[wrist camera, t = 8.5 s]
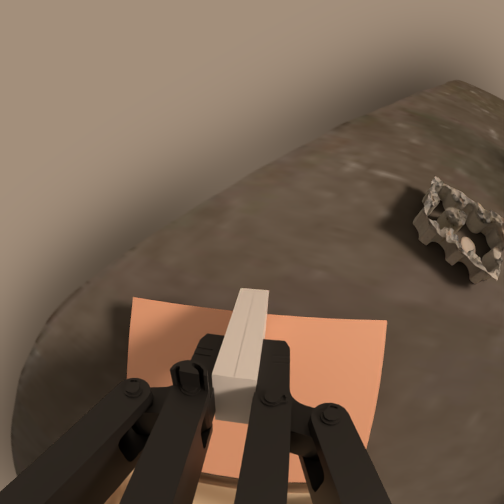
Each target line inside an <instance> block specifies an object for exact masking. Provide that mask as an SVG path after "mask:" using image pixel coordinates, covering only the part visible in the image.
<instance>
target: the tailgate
mask: <svg viewBox="0 0 504 504" xmlns="http://www.w3.org/2000/svg"><path fill="white" fill-rule="evenodd" d="M232 313H233V311H229V310H221V309H212V308H204V307H196V306H188V305H181V304H174V303H167V302H161V301H154V300H148V299H142V298H136V297H133V304H132V313H131V323H130V334H129V347H128V363H127V379H129V378H140V379H143V380H145V381H146V382H147V383H148V384H149V386H150V387H167V386H171V385H173V383H172V378H171V373H170V368H171V367H172V366H173V365H174V364H175V363H177V362H179V361H184V360H191V358H192V356H193V355H194V351H195V349H196V348H197V345H198V343H199V340H200V339H201V338H202V337H204V336H205V335H206V334H207V333H209V334H216V335H224V336H225V334H226V331H227V328H228V325H229V322H230V319H231V316H232ZM386 326H387V320H352V319H329V318H311V317H296V316H282V315H270V314H267V320H266V332H265V339H269V340H281V341H286V343H287V344H288V346H289V347H290V393H291V395H292V397H293V398H294V399H295V400H296V401H298V402H299V403H301V404H304V405H306V406H310V407H313V408H315V407H316V406H318V405H320V404H323V403H335V404H339V405H340V406H342V407H344V408H345V409H346V410H347V412H348V413H349V415H350V417H351V419H352V421H353V423H354V425H355V428H356V430H357V432H358V434H359V436H360V438H361V440H362V442H363V444H364V446H365V448H366V447H367V444H368V440H369V435H370V431H371V427H372V422H373V418H374V413H375V408H376V402H377V397H378V391H379V385H380V379H381V372H382V364H383V356H384V347H385V337H386ZM212 424H213V431H212V435H211V439H210V442H209V446H208V450H207V453H206V457H205V460H204V464H203V468H202V471H201V472H205V473H210V474H216V475H221V476H228V477H235V478H239V474H240V468H241V463H242V457H243V451H244V446H245V440H246V434H247V428H248V424H244V423H236V422H229V421H222V420H216V419H215V415H214V418H213V422H212ZM288 482H306V480H305V477H304V473H303V470H302V466H301V463H300V460H299V456H298V455H296V454H292V453H290V457H289V477H288Z"/></svg>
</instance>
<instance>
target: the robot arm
mask: <svg viewBox="0 0 504 504" xmlns="http://www.w3.org/2000/svg"><path fill="white" fill-rule="evenodd" d="M268 295H269V290H257V289H246V288H241V289H240V292H239V295H238V298H237V301H236V304H235V307H234V310H233V313H232V316H231V319H230V322H229V325H228V328H227V331H226V334H225V336H224V335H216V334H209V333H207V334H206V335H205V336H204V337H202V338H201V339H200V340H199V343H198V345H197V348H196V349H195V351H194V355H193V356H192V358H191V360H184V361H179V362H177V363H175V364H174V365H173V366H172V367H171V368H170V373H171V378H172V383H173V385H171V386H167V387H150V386H149V384H148V383H147V382H146V381H145V380H143V379H140V378H129V379H125V380H124V381H122V382H121V383H119V384H118V385H117V386H116V387H115V388H114V389H113V390H112V391H111V392H110V393H108V394H107V395H106V396H105V397H104V398H103V399H102V400H101V401H100V402H99V403H98V404H96V405H95V406H94V407H93V408H92V409H91V410H90V411H89V412H88V413H87V414H86V415H84V416H83V417H82V418H81V419H80V420H79V421H78V422H77V423H76V424H75V425H74V426H72V427H71V428H70V429H69V430H68V431H67V432H66V433H65V434H64V435H63V436H61V437H60V438H59V439H58V440H57V441H56V442H55V443H54V444H53V445H52V446H50V447H49V448H48V449H47V450H46V451H45V452H44V453H43V454H42V455H41V456H39V457H38V458H37V459H36V460H35V461H34V462H33V463H32V464H31V465H29V466H28V467H27V468H26V469H25V470H24V471H23V472H22V473H21V474H19V475H18V476H17V477H16V478H15V479H14V480H13V481H12V482H11V483H9V484H8V485H7V486H6V487H5V488H4V489H3V490H2V491H1V492H0V504H104V503H105V502H106V501H107V500H108V499H109V498H110V496H111V495H112V494H113V493H114V492H115V491H116V490H117V488H118V487H119V486H120V485H121V484H122V483H123V481H124V480H125V479H126V478H127V477H128V476H129V474H130V473H131V472H132V471H133V470H134V471H133V473H132V476H131V478H130V480H129V482H128V485H127V487H126V489H125V491H124V494H123V496H122V498H121V501H120V503H119V504H192V503H193V500H194V496H195V493H196V489H197V486H198V482H199V478H200V475H201V471H202V468H203V464H204V460H205V457H206V453H207V450H208V446H209V442H210V439H211V435H212V431H213V424H212V422H213V418H214V415H215V419H216V420H222V421H229V422H236V423H244V424H248V428H247V434H246V440H245V446H244V451H243V457H242V463H241V468H240V474H239V479H238V484H237V490H236V495H235V500H234V504H287V493H288V477H289V457H290V453H292V454H296V455H298V456H299V460H300V463H301V466H302V470H303V473H304V477H305V480H306V483H307V487H308V490H309V494H310V497H311V500H312V504H391V502H390V499H389V497H388V495H387V493H386V491H385V489H384V487H383V484H382V482H381V480H380V478H379V476H378V474H377V472H376V469H375V467H374V465H373V463H372V461H371V459H370V457H369V455H368V453H367V450H366V448H365V446H364V444H363V442H362V440H361V438H360V436H359V434H358V432H357V430H356V428H355V425H354V423H353V421H352V419H351V417H350V415H349V413H348V412H347V410H346V409H345V408H344V407H342V406H340V405H339V404H335V403H323V404H320V405H318V406H316V407H315V408H313V407H310V406H306V405H304V404H301V403H299V402H298V401H296V400H295V399H294V398H293V397H292V395H291V393H290V347H289V346H288V344H287V343H286V341H281V340H269V339H265V332H266V320H267V308H268ZM134 468H135V469H134Z"/></svg>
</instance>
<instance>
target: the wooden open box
mask: <svg viewBox="0 0 504 504" xmlns="http://www.w3.org/2000/svg"><path fill="white" fill-rule="evenodd" d="M134 469H135V468H134ZM133 471H134V470H133ZM133 471H132V472H131V473H130V474H129V476H128V477H127V478H126V479H125V480H124V481H123V483H122V484H121V485H120V486H119V487H118V488H117V490H116V491H115V492H114V493H113V494H112V495H111V496H110V498H109V499H108V500H107V501H106V502H105V503H104V504H119V503H120V501H121V498H122V496H123V494H124V491H125V489H126V487H127V485H128V482H129V480H130V478H131V476H132V473H133ZM237 484H238V479H234V478H227V477H221V476H215V475H209V474H204V473H201V475H200V478H199V482H198V486H197V489H196V493H195V496H194V500H193V503H192V504H234V500H235V495H236V490H237ZM287 504H312V500H311V497H310V494H309V490H308V487H307V483H288V493H287Z"/></svg>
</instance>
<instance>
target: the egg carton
mask: <svg viewBox="0 0 504 504" xmlns="http://www.w3.org/2000/svg"><path fill="white" fill-rule="evenodd" d="M443 183H444V182H442V181H441V180H440V179H439V178H438V177H435V178H434V179H433V180H432V182H431V187H430V189H429V190H428V192H427V193H426V195H425V196H424V197H423V200H422V203H423V204H424V207H423V208H422V209H421V211H420V212H419V214H418V215H417V216H416V217H415V219H414V221H413V225H414V226H415V227H416V229H417V230H418V233H419V241H421V242H422V243H423V244H425V245H427V244H428V243H430V242H437V243H439V244H440V245H441V246H442V247H443V249H444V251H445V260H446V261H447V262H448V263H450V264H451V265H454V264H455V263H456V262H457V261H460V262H463V263H464V264H465V265H466V266H467V268H468V270H469V275H470V276H469V279H470V281H471V282H473V283H474V284H477V283H478V282H480V281H481V280H484V281H485V280H487V279H489V278H491V277H493V278H495V279H496V281H497V280H498V277H499V274H500V272H501V271H500V265H501V263H502V261H503V258H502V257H501V252H502V251H503V249H504V218H502V217H500V216H499V214H497V213H495V212H493V211H492V210H490V211H486V210H485V209H484V208H483V207H482V206H481V204H479V203H477V202H474V201H472V200H471V199H469V198H468V197H467V196H466V195H465V194H464V193H463V192H461V191H459V190H457V189H455V188H452V187H449V186H448V185H446V184H443ZM440 200H441V201H442V202H443V207H444V209H445V211H444V212H443V213H442V214H441V216H440V217H438V219H437V221H435V220H434V221H432V220H431V219H429V218H428V216H429V215H430V213H431V212H432V211H433V209H434V208H435V207H436V206H437V205H438V204H439V201H440ZM465 222H466V225H467V227H468V229H469V230H470V231H471V232H473V233H475V234H477V233H479V232H481V233H483V234H484V235H485V237H486V241H487V244H488V246H489V247H490V249H491V250H490V251H489V252H488V253H486V254H485V255H484V256H483V257H482V262H481V258H480V257H478V256H477V255H476V254H475V252H476V249H475V245H474V243H473V242H472V241H471V239H469V238H468V237H463V238H461V240H460V243H458V236H457V235H456V234H455V233H456V232H457V231H458V230H459V229H460V228H461V227H462V226H463V225H464V224H465ZM459 248H462V250H459Z"/></svg>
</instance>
